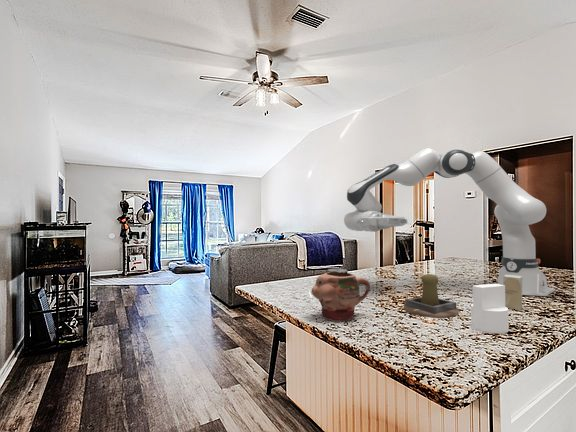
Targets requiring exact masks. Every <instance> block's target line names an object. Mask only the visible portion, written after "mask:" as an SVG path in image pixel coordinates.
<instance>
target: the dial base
mask: <svg viewBox="0 0 576 432" xmlns="http://www.w3.org/2000/svg"><path fill="white" fill-rule="evenodd" d="M421 300H422V296H419V297H418V296H417V297H413V298H412V297H411V298H409V299H408V298H407V299H405V300H404V304H403V310H404V311H405V312H408V313H410V314H413V315H416V316H420V317H426V318H435V319H436V318H437V319H442V318H443V319H444V318H445V319H446V317H448V318H454V317H457V316H458V315H459V314H460V313H459V312H460V311H459V308H458V307H457V302H455V301H453V300H452V301H451V300H447V299H442V298H439V304H440V305H437V306H431V305H427V304H423V303H421ZM458 313H459V314H458ZM456 315H457V316H456ZM453 316H454V317H453Z"/></svg>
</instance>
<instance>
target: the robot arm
mask: <svg viewBox="0 0 576 432" xmlns="http://www.w3.org/2000/svg"><path fill="white" fill-rule="evenodd" d="M433 173H435V174H437V175H439V176H440V177H442V178H443V179H444V178H447V179H450V178H456V177H459V176H460V175H463V174H466V175H468V176H469V177H470V178H471V179H472V180H473V181H474V182H473V183H475V184H476V186H478V188H479V189H480V190H481V192H482V193H483V194H484V195H485V197H487V199H490V200H491V201H493V202H494V203H495V204H496V206H495V208H494V211H493V213H494V216H495V218H496V219H497V222H498V225H499V228H500V233H501V239H502V257H501V268H499V271H498V279H497V284H501V285H503V276H504V275H515V276H522V277H523V278H522V296H539V297H548V296H549V295H550V294H552V293H553V292H555V288H554V287H549V286H548V280H547V276H546V275H545V274H544V272H542V270H540V269H539V264H541V259H540V258H537V257H536V253H537V252H536V238H535V237H534V235H533V233H532V232H531V229H530V226H529V225H533V224H536V223H539V222H541V221H543V219H544V218H545V217H546V214H547V207H546V204H545V203H544V202H543V201H541V200H539V199H538V198H535V197H534V196H532V195H531V194H529V193H528V192H527V191H526V190H525V189H524V188H522V187H520V186H519V184H518V183H516V182H515V181H514V180H513V179H512V178H511V177H510V176H509V174H508V173H507V172H506V171H505V170H504V169H503V167H501V165H500V164H499V163H498V162H497V161H496V159H494V158H493V157H492V156H491V155H489V154H488V153H487V152H485V151H483V150H477V151H475V152H472V153H470V152H467V151H466V150H465V151H464V150H463V149H452V150H449V151H447V152H446V153H444V154H440V153H439V152H438V151H436V150H435V149H433V148H430V147H426V148H423V149H421V150H419V151H418V152H417V153H415V154H414V155H412V156H411V157H409V158H408V159H406V161H405V162H402V163H399V164H396V163H392V164H389V165H387V166H385V167H384V168H382V169H380V170H378V171H377V172H374V173H373V174H372V175H370V176H368V177H367V178H365V179H363V180H361V181H359V182H356V183H355V184H352V186H350V187H349V188H348V189H347V192H346V200H347V201H348V202H349V203H350V204H351V205H352V206H353V207H355V209H356V210H354V211H353V212H348V213H346V214H345V215H344V218H343V222H344V225H345V227H346V228H347V229H349V230H350V231H355V232H374V233H375V232H379V231H381V230H388V229H390V228H394V227H395V228H396V227H402V226H403V227H404V226H405V225H406V224H408V219H407V218H405V217H404V216H401V215H390V213H383V212H382V210H383V205H382V204H381V202H380V201H379V200H378V199H377V198H376V197H375V196H374V195H373V193H372V192H371V189H373V188H374V187H377V186H379V184H381V183H383V182H385V181H387V180H389V181H393V182H394V181H395V182H396V183H398V184H401V186H406V187H413V186H416V185H418V184H419V183H421V182H422V181H423V180H424V179H426V178H427V177H429V175H431V174H433Z"/></svg>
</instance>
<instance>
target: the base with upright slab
mask: <svg viewBox="0 0 576 432" xmlns="http://www.w3.org/2000/svg"><path fill="white" fill-rule="evenodd" d="M470 323H471V327H472V329H475V330H478V331H479V332H480V331H481V332H483V333H491V334H507V333H508V332H509V330H510V329H509V309H508V308H507V307H505V285H501V284H498V283H485V284H476V285H472V303H471V305H470Z"/></svg>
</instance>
